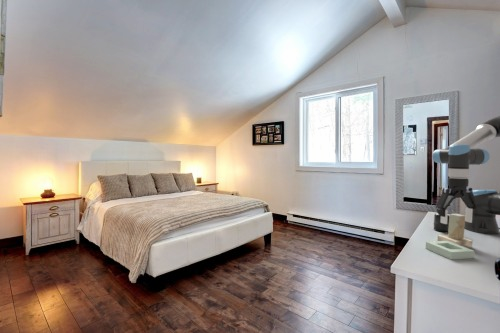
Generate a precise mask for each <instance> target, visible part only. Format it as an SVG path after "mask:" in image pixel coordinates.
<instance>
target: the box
mask: <svg viewBox="0 0 500 333" xmlns="http://www.w3.org/2000/svg"><path fill="white" fill-rule="evenodd" d="M448 215H449V229H448V232H447V235H448V237H450V238H454V239H458V240H459V239H464V238H465V228H464V226H465V214H460V213H450V214H448Z"/></svg>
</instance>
